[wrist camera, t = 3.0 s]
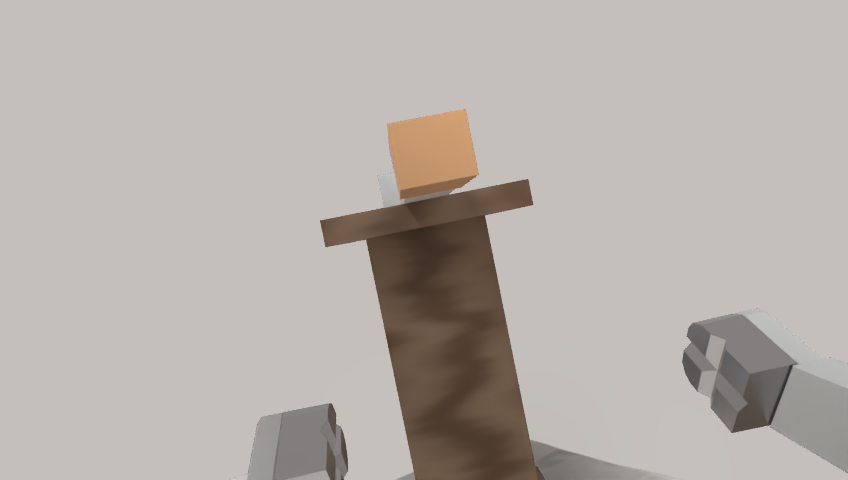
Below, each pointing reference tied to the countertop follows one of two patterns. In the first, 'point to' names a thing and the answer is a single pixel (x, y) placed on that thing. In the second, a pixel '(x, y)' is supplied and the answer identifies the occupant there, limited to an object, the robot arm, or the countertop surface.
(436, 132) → the grey tan flat bar
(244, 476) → the supplement bottle
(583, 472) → the countertop surface
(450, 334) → the stand
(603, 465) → the countertop surface
